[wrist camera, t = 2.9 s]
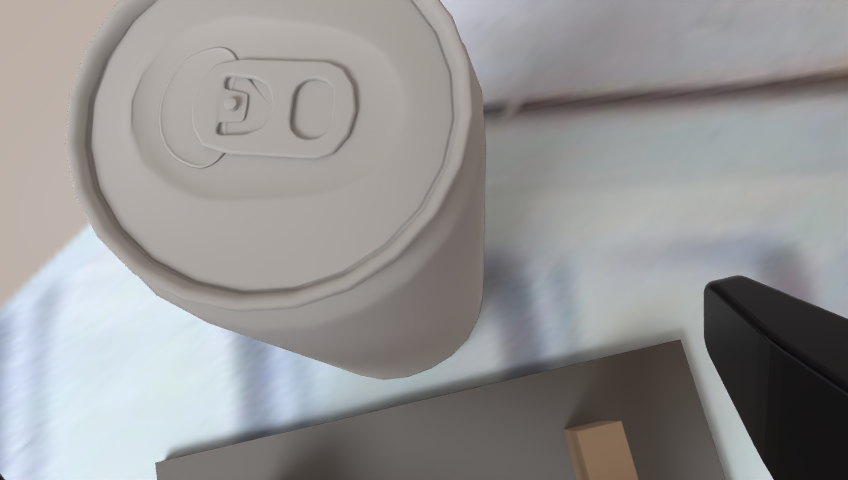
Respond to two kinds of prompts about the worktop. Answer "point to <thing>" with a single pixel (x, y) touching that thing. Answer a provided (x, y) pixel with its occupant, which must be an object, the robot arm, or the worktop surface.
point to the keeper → (501, 432)
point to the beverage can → (291, 170)
